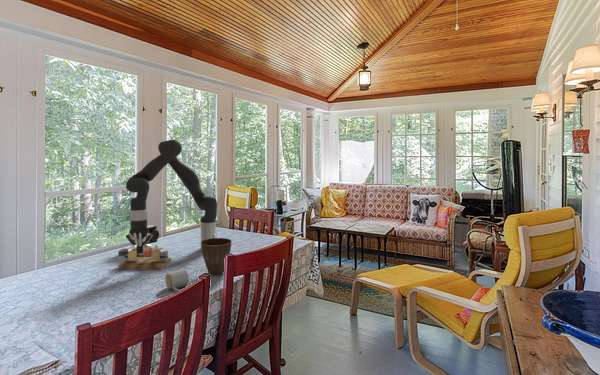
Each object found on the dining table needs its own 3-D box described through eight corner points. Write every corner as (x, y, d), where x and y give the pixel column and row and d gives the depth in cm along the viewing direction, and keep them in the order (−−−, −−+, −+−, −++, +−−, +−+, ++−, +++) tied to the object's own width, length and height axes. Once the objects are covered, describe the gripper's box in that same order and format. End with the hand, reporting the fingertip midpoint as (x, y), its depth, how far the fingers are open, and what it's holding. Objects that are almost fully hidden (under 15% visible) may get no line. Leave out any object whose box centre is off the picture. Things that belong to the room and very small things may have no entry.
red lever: (160, 248, 181) (160, 243, 181) (148, 256, 166) (148, 251, 166) (155, 248, 181) (155, 243, 181) (143, 256, 166) (143, 251, 166)
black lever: (137, 247, 181) (137, 243, 180) (123, 256, 166) (123, 251, 165) (133, 247, 181) (132, 243, 180) (118, 256, 165) (118, 251, 165)
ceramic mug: (164, 287, 150) (164, 270, 149) (182, 282, 155) (182, 266, 155) (174, 295, 142) (173, 277, 141) (192, 290, 148) (192, 273, 147)
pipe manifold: (168, 260, 183) (168, 247, 182) (165, 262, 178) (164, 249, 177) (127, 260, 182) (126, 247, 182) (122, 262, 177) (122, 249, 177)
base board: (171, 261, 188) (171, 257, 187) (162, 269, 174) (161, 265, 174) (131, 261, 187) (131, 257, 187) (118, 269, 173) (118, 265, 173)
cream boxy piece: (161, 252, 205) (161, 223, 203) (150, 255, 197) (149, 225, 196) (141, 248, 213) (140, 220, 211) (129, 251, 205) (128, 223, 203)
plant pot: (236, 269, 175) (236, 238, 174) (223, 279, 161) (223, 246, 159) (210, 266, 178) (209, 237, 177) (195, 276, 164) (194, 244, 163)
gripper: (155, 217, 171) (156, 251, 172) (128, 217, 170) (129, 251, 172) (149, 220, 163) (150, 255, 165) (121, 220, 163) (122, 255, 164)
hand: (139, 253), depth 168 cm, fingers closed
